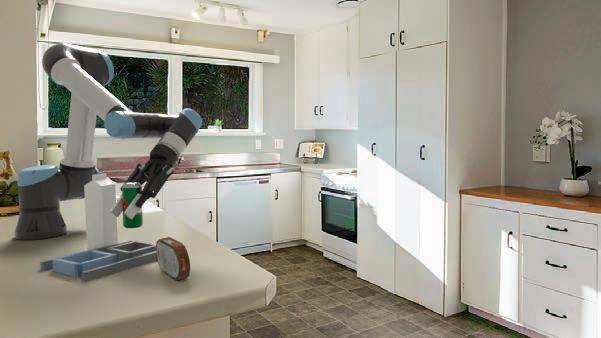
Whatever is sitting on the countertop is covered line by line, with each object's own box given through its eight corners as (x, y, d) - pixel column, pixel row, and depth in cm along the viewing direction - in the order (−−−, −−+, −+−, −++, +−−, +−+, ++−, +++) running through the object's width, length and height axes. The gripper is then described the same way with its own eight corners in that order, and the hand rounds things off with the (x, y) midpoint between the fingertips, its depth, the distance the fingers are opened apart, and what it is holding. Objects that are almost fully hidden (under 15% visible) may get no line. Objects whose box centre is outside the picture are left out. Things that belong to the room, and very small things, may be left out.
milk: (87, 250, 126) (82, 174, 125) (101, 245, 132) (97, 173, 131) (105, 251, 125) (100, 174, 123) (118, 246, 131) (114, 173, 129)
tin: (192, 282, 97) (191, 244, 96) (178, 285, 95) (177, 247, 94) (167, 266, 109) (166, 233, 108) (154, 269, 107) (153, 235, 106)
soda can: (136, 229, 116) (134, 184, 115) (119, 228, 117) (117, 184, 116) (146, 225, 121) (145, 182, 120) (130, 224, 122) (128, 182, 121)
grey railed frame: (40, 269, 108) (39, 257, 107) (130, 246, 130) (129, 236, 130) (85, 281, 98) (84, 268, 98) (173, 254, 120) (173, 243, 120)
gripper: (196, 160, 126) (152, 227, 114) (154, 159, 136) (108, 219, 123) (182, 142, 121) (134, 209, 109) (139, 142, 131) (90, 203, 118)
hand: (120, 215), depth 116 cm, fingers closed on soda can, 5 cm apart
